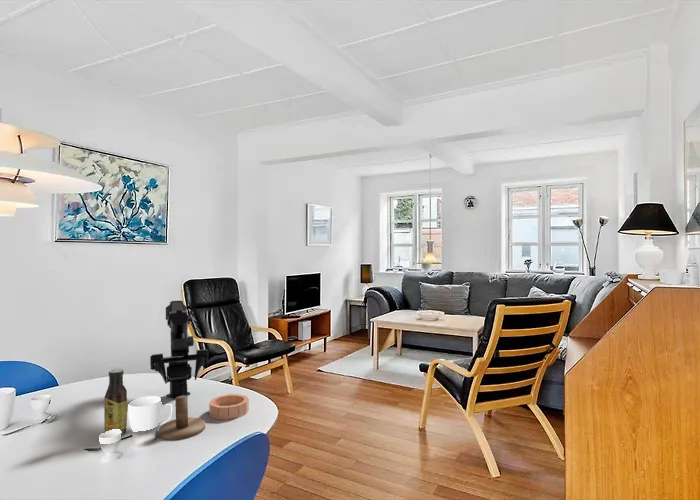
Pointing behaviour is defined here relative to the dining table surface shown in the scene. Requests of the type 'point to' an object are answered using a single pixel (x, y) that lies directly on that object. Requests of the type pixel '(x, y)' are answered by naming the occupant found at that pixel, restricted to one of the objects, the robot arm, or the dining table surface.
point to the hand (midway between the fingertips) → (181, 381)
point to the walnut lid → (181, 423)
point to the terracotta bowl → (229, 406)
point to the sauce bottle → (115, 402)
